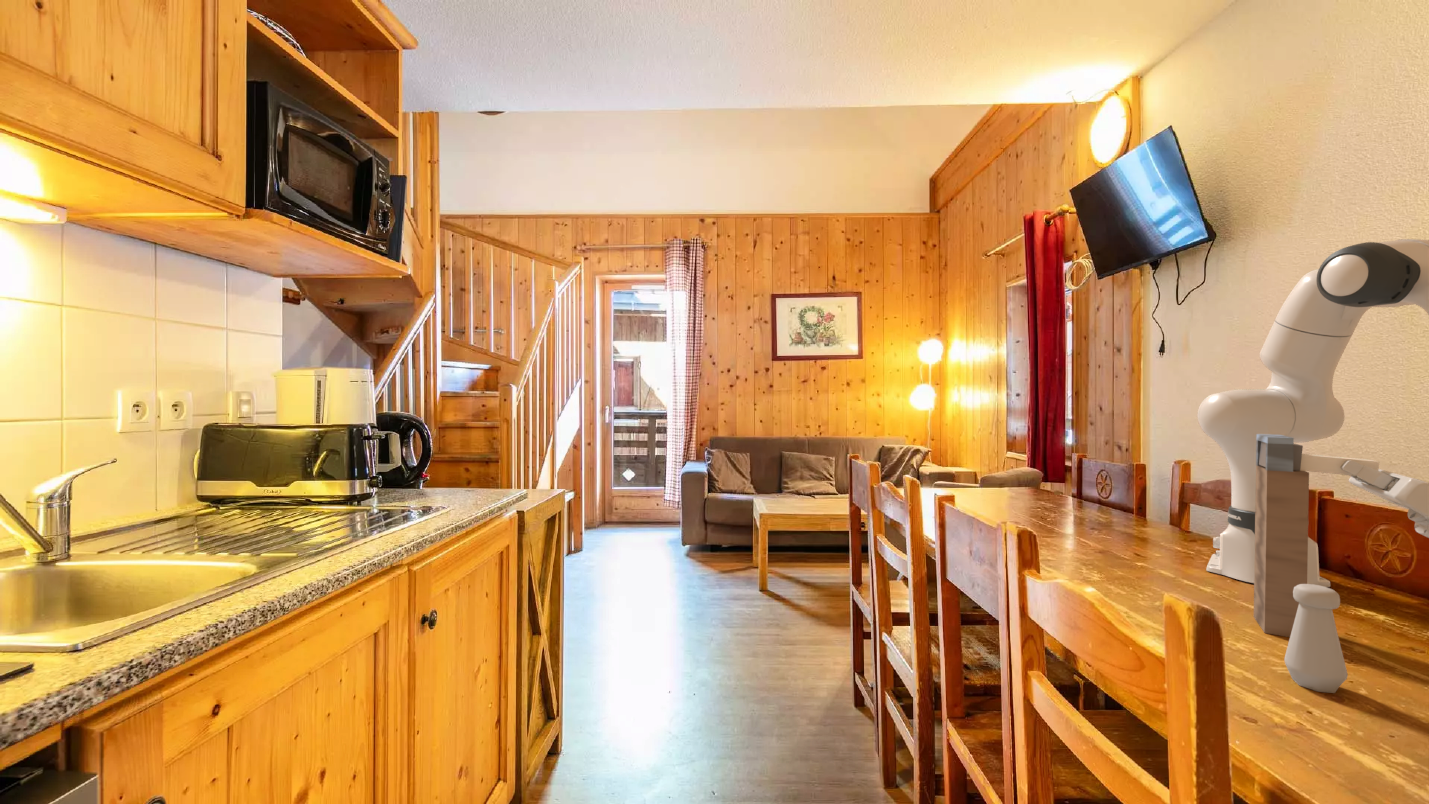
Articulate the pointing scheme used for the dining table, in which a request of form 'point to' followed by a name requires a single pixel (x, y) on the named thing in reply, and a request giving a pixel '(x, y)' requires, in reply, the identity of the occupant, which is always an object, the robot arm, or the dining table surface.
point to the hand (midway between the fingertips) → (1339, 462)
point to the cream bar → (1318, 461)
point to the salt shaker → (1315, 640)
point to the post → (1279, 535)
